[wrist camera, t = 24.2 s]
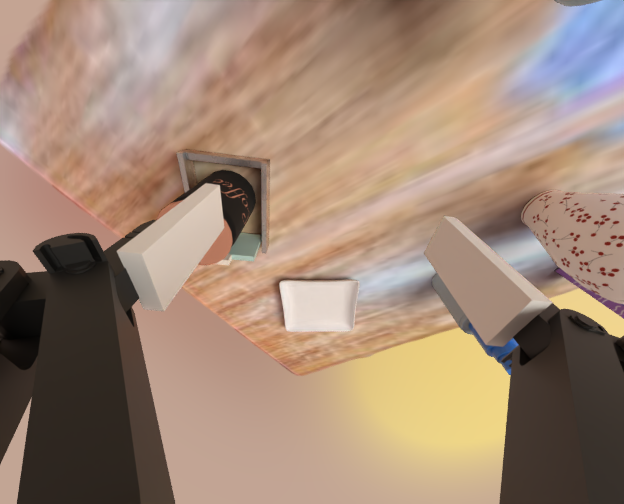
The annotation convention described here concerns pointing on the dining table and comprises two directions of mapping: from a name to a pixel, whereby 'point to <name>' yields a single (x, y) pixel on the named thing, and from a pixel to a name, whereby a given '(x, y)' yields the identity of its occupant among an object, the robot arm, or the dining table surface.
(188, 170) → the open-ended rimmed tray
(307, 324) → the salad plate
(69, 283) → the robot arm
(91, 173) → the dining table surface
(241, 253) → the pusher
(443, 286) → the spray bottle
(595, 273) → the vase
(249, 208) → the coffee jar
